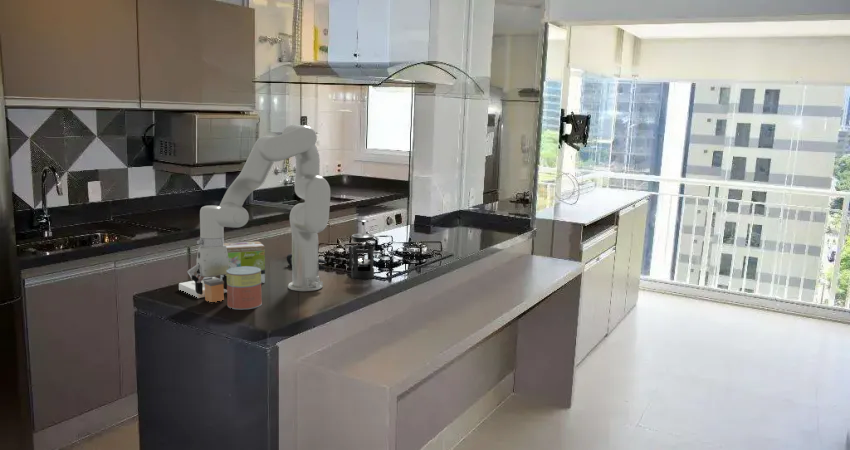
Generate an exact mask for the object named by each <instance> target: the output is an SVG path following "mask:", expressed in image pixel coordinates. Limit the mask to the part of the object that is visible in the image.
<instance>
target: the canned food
mask: <svg viewBox="0 0 850 450" xmlns="http://www.w3.org/2000/svg"><path fill="white" fill-rule="evenodd" d="M226 272H227V292H226V296H227V299H226V302H227V303H226V305H227V308H229V309H231V308H232V310H240V311H241V310H243V311H244V310H245V311H246V310H252V309H253V310H254V309H257V308H259V307H261V306H262V304H263V302H262V283H261V269H260V268H258V267H253V266H240V267H233V268H230V269H227V270H226Z"/></svg>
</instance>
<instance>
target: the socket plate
mask: <svg viewBox="0 0 850 450" xmlns="http://www.w3.org/2000/svg"><path fill="white" fill-rule="evenodd" d="M215 278H218V277H217V276H212V277H204V278H203V280H202V281H201V283H202V284H203V294H201V295H200V294H198V293H196V290H195V282H194V280H189V281H184V282H179V283H178V290H179V291H180V290H181V292H182V291H184V292H183V293H185V292H186V293H185V294H187V293H188V294H187V295H189V294H190V295H189V296H192V295H193V296H192V297H194V296H195V297H194V298H196V297H197V298H196V299H200V298H205V284H204V281H205V280H210V279H215ZM218 279H220V278H218ZM220 280H222V279H220ZM224 294H227V290H226V289H224Z"/></svg>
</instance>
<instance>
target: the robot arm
mask: <svg viewBox="0 0 850 450" xmlns="http://www.w3.org/2000/svg"><path fill="white" fill-rule="evenodd" d="M317 137H318V136H317V133H316V131H315V130H314V129H313V128H312V127H311V126H308V125H302V124H300V125H299V124H289V125H287V126H285V128H283V130H282V133H281V134H279V135H275V136H273V135H263V136H260V137H259V138H258V139H257V140H256V141H255V143H254V145H253V146H252V149H251V151H250V153H249V154H248V157H247V158H246V162H245V163H244V165H243V167H242V169H241V171H240V173H239V175H237V176H236V178H235V179H234V180H233V181H232V183H231V184H230V186H229V187H228V188H227V189H226V191H225V193H224V195H223V198H222V199H221V201H220V203H219V205H213V204H211V205H204V206H202V207H201V208H200V210H199V223H200V224H199V226H200V227H199V228H200V229H199V232H200V235H199V239H198V240H196V244H197V245H199V246H198V248H197V254H196V255H197V256H196V265H194V266H193V267H191V268H190V269H188V270H187V274H188V275H189V278H190V279H192V280H191V281H194V282H195V290H196V293H198V294H200V295H201V294H203V284H202V283H201V281H202V280H203V278H204V277H217V276H220V275H223V276H224V277H223V278H222V280H223V281H224V284H223V286H224V289H226V290H227V272H226V270H227V269H229V266H230V268H233V267H236V264H233V263H231V262H229V259H228V252H227V247H226V245H224V243H225V241H224V240H225V239H224V236H225V235H224V233H225V231H224V228H225V227H226V228H241V227H245V226H246V225H247V223H248V222H249V219H250V215H249V212H248V210H247V209H246V208H244V207H243V205H244V203H245V201H246V200H247V198H248V197H249V196H250V194H252V192H254V191H255V190H257V189H258V188H260V187H261V186H263V184H264V183H265V182H266V179H267V177H268V175H269V173H270V171H271V169H272V167H273V165H274V163H277V162H282V161H285V160H288V159H291V158H295V175H294V176H295V178H294V192H295V195H296V196H297V197H298V198H300V199H302V200H304V202H300V203H297V204H295V205H294V206H293V207H292V208H291V210H290V213H289V224H290V231H291V254H292V266H291V269H292V281H291V282H289V283H288V285H287V288H288V289H289V290H291V291H294V292H295V291H296V292H312V291H317V290H320V289H322V288H323V286H324V285H323V284H324V283H323V281H322V280H320V276H319V269H318V265H319V263H318V259H319V234H318V233H321V232H322V231H324V230H325V229H326V227H327V226H328V223H329V219H330V205H331V186H330V184H329V182H328V181H327V180H326V178H324V177H323V176H321V175H320V171H321V170H320V169H321V168H320V166H321V165H320V159H321V158H320V154H319V150H318V148H317V146H316V143H317V139H318V138H317ZM195 273H196V275H195Z"/></svg>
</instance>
